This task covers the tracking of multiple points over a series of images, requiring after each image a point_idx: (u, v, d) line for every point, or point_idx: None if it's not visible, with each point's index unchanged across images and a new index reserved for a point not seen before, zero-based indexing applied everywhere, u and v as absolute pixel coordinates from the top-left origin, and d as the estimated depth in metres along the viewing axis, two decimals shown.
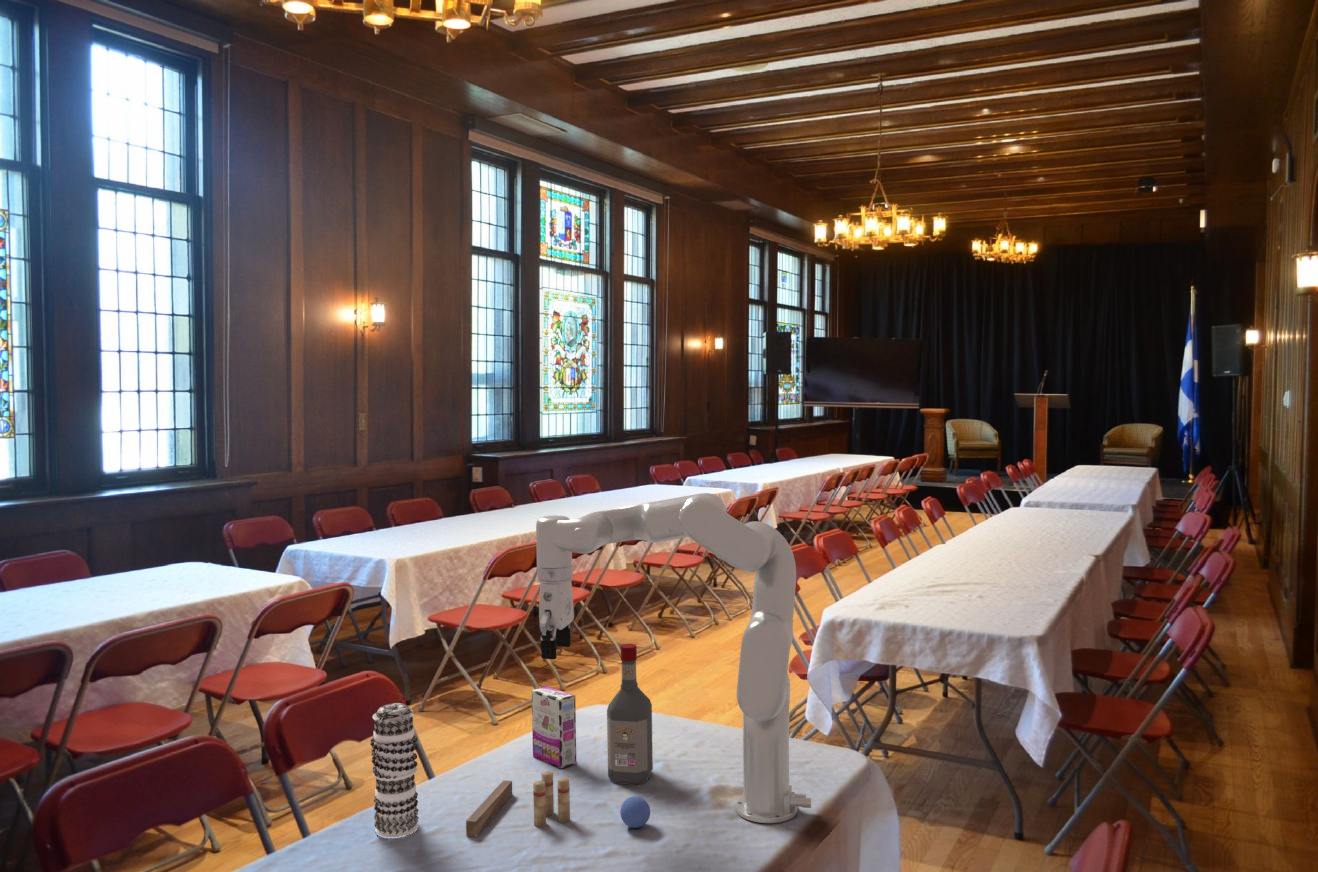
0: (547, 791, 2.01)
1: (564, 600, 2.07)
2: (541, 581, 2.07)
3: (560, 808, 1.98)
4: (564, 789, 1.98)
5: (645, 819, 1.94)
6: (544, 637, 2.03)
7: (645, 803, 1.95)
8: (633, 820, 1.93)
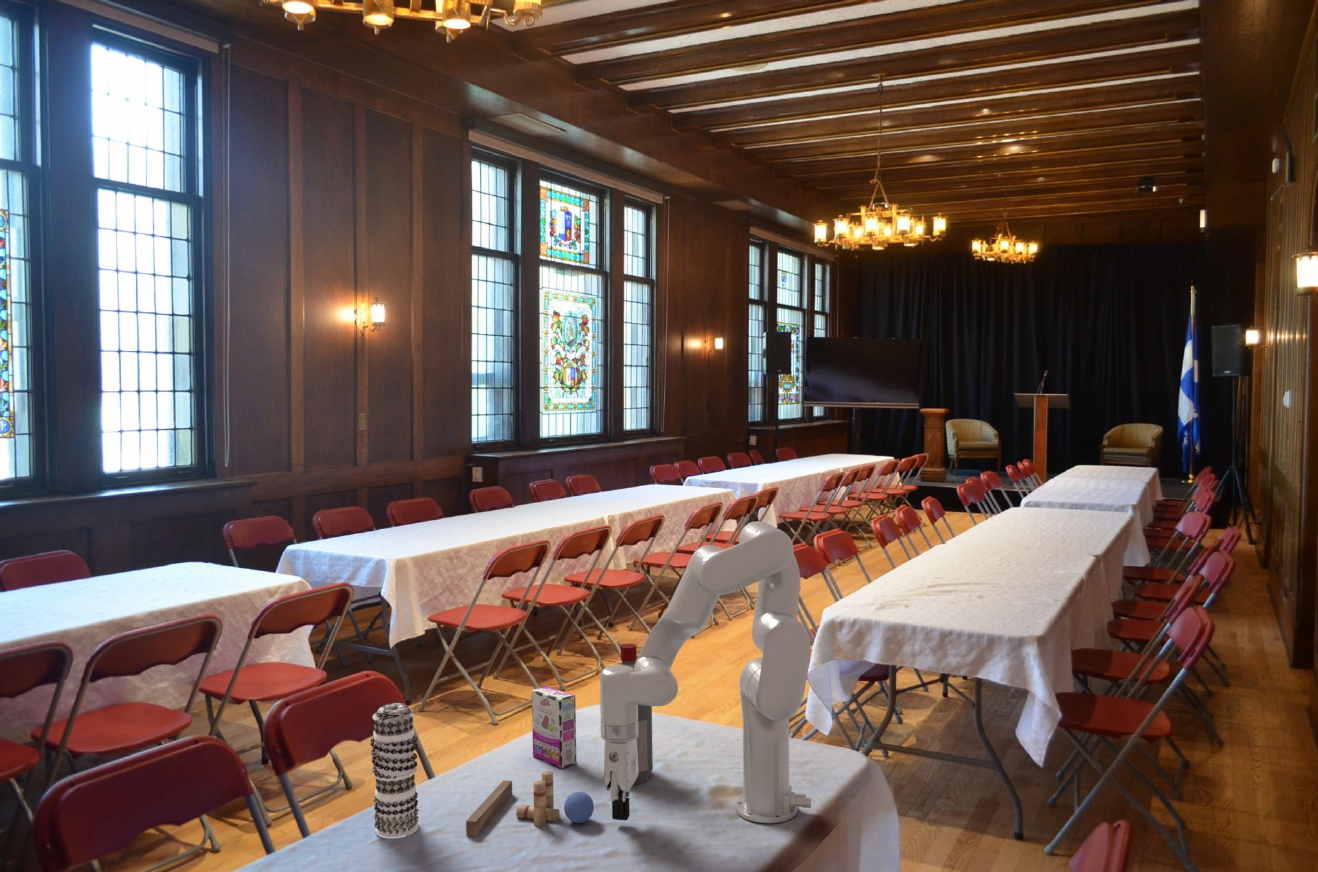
0: (547, 791, 2.01)
1: (630, 759, 1.93)
2: (606, 739, 1.93)
3: None
4: (524, 811, 2.00)
5: (565, 812, 1.97)
6: (616, 798, 1.94)
7: None
8: (571, 811, 1.96)
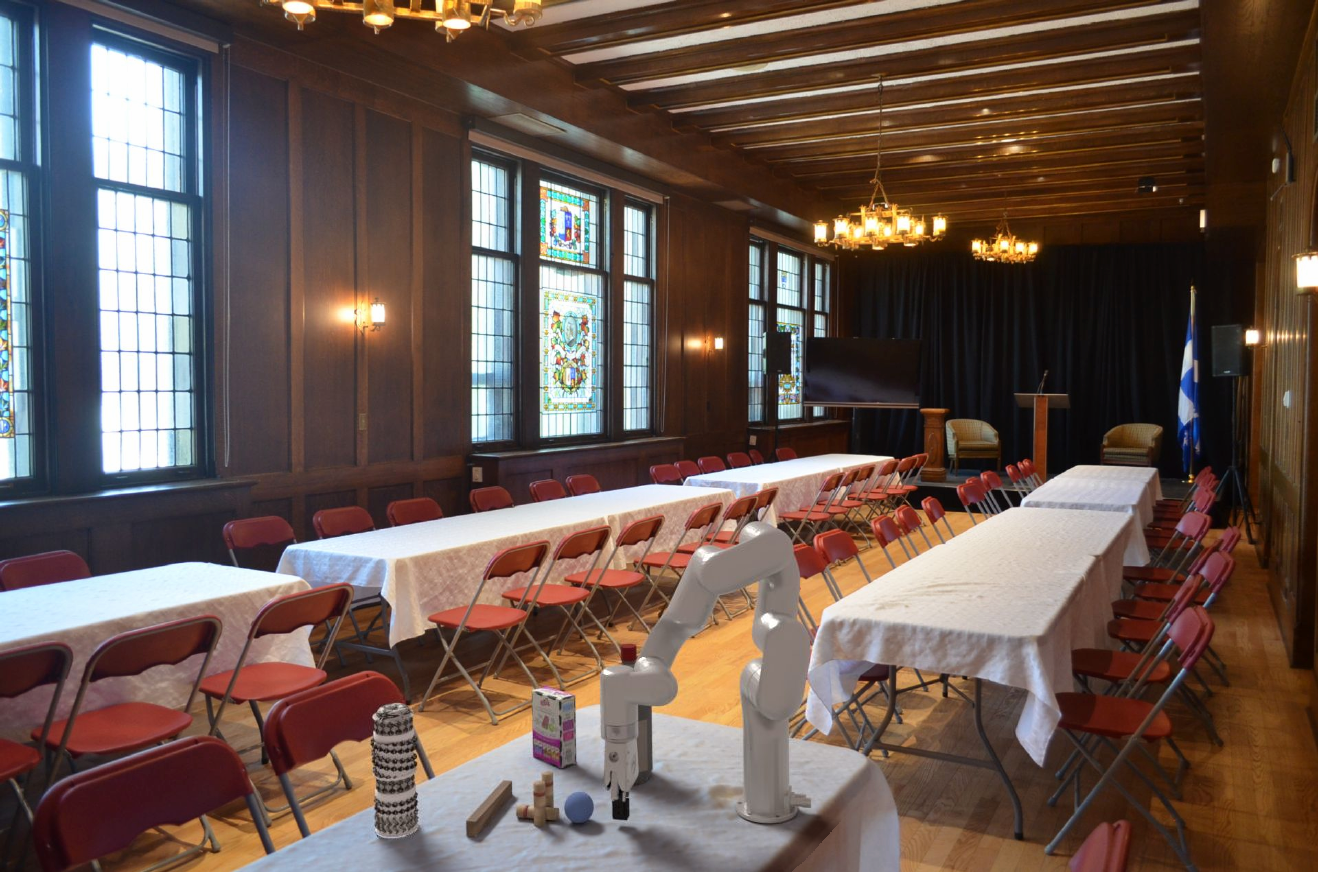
0: (547, 791, 2.01)
1: (630, 759, 1.93)
2: (606, 739, 1.93)
3: None
4: (523, 811, 2.00)
5: (565, 812, 1.97)
6: (616, 798, 1.94)
7: None
8: (571, 811, 1.96)
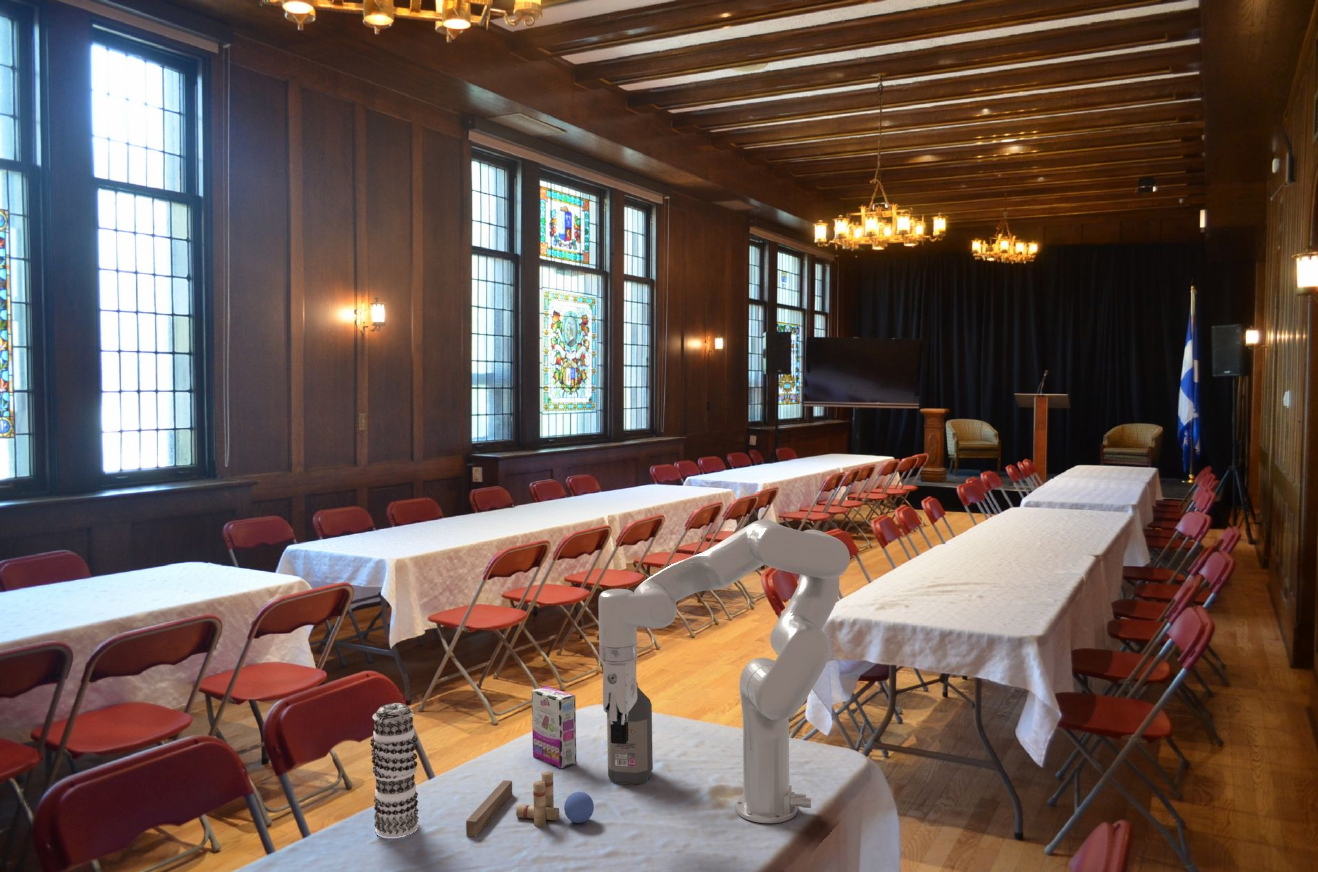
0: (547, 791, 2.01)
1: (629, 682, 1.92)
2: (604, 661, 1.92)
3: None
4: (523, 811, 2.00)
5: (565, 812, 1.97)
6: (615, 721, 1.93)
7: None
8: (571, 811, 1.96)
